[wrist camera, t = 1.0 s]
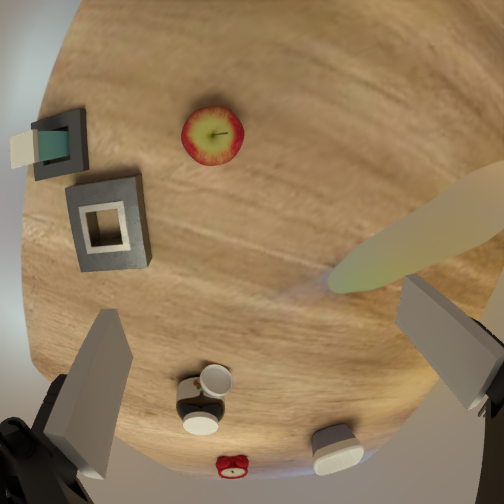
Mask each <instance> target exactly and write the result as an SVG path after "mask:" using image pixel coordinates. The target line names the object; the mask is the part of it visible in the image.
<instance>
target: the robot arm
mask: <svg viewBox="0 0 504 504" xmlns="http://www.w3.org/2000/svg"><path fill="white" fill-rule="evenodd" d="M395 324H396V325H397V326H398V327H399V328H400V329H401V331H402V332H403V333H404V334H405V335H406V336H407V338H408V339H409V340H410V341H411V342H412V343H413V345H414V346H415V347H416V348H417V349H418V350H419V352H420V353H421V354H422V355H423V356H424V358H425V359H426V360H427V361H428V362H429V364H430V365H431V366H432V367H433V368H434V370H435V371H436V372H437V373H438V375H439V376H440V377H441V378H442V379H443V381H444V382H445V383H446V385H447V386H448V387H449V388H450V390H451V391H452V392H453V393H454V395H455V396H456V397H457V398H458V400H459V401H460V402H461V404H462V405H463V406H464V408H465V409H466V410H467V411H468V410H470V409H471V408H473V407H475V406H476V405H478V404H479V403H480V401H481V400H482V398H483V397H484V395H485V394H487V396H488V397H489V398H488V399H487V401H486V403H485V404H484V405H483V407H482V409H481V410H480V411H479V413H478V416H479V417H480V416H481V414H482V413H483V411H484V410H486V412H485V414H484V415H483V417H485V439H484V451H483V460H482V468H481V476H480V481H479V487H478V493H477V497H476V502H475V504H504V344H503V343H502V342H501V341H500V340H499V339H498V338H497V337H496V336H495V335H492V333H491V332H490V331H489V330H488V329H487V330H486V327H485V326H483V325H482V324H481V323H480V322H479V321H477V320H475V319H473V318H471V317H469V316H468V315H466V314H465V313H464V312H463V311H462V310H461V309H459V308H458V307H457V306H456V305H455V304H454V303H452V302H451V301H450V300H449V299H447V298H446V297H445V296H444V295H443V294H441V293H440V292H439V291H438V290H436V289H435V288H434V287H433V286H431V285H430V284H429V283H428V282H426V281H425V280H424V279H423V278H421V277H420V276H419V275H417V274H411V275H406V276H404V281H403V287H402V292H401V297H400V302H399V306H398V311H397V315H396V319H395ZM132 360H133V355H132V353H131V350H130V347H129V344H128V342H127V339H126V336H125V333H124V330H123V327H122V324H121V321H120V318H119V315H118V312H117V309H101V310H100V312H99V314H98V316H97V318H96V319H95V321H94V323H93V325H92V327H91V329H90V331H89V333H88V334H87V336H86V338H85V340H84V342H83V344H82V346H81V348H80V350H79V352H78V354H77V356H76V358H75V360H74V362H73V364H72V366H71V369H70V371H69V373H68V375H66V374H60V375H59V376H58V377H57V378H56V379H55V380H54V381H53V382H52V383H51V385H50V387H49V390H48V392H47V395H46V396H45V398H44V400H43V402H44V403H43V404H42V405H41V407H40V409H39V411H38V414H37V416H36V418H35V421H34V423H33V426H32V428H31V429H30V428H29V427H28V426H27V425H26V423H25V422H24V421H23V420H21V419H20V418H17V417H11V418H7V419H6V420H4V421H3V422H1V424H0V445H1V446H0V504H94V503H93V501H92V500H91V498H90V497H89V495H88V493H87V492H86V490H85V489H84V487H83V485H82V484H81V482H80V481H79V479H78V478H77V477H76V475H77V471H78V470H79V471H80V472H82V473H83V474H84V475H85V476H86V477H91V478H97V479H103V480H105V477H106V471H107V465H108V460H109V455H110V449H111V445H112V440H113V435H114V431H115V426H116V422H117V418H118V413H119V409H120V405H121V401H122V397H123V393H124V389H125V385H126V381H127V378H128V374H129V370H130V367H131V363H132ZM6 493H7V495H6Z"/></svg>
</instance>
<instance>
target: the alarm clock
mask: <svg viewBox="0 0 504 504" xmlns="http://www.w3.org/2000/svg"><path fill="white" fill-rule="evenodd" d="M231 457H236V458H229V457H225V456H223V457H220V458H218V460H217V463H216V468H217V469H218V474H219V476H221V478H227V479H236V478H241V477H244V476H245V475H247V473H248V470H247V467H248V463H249V461H248V459H247V458H246V457H245V456H231Z"/></svg>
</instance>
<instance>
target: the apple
mask: <svg viewBox="0 0 504 504" xmlns="http://www.w3.org/2000/svg"><path fill="white" fill-rule="evenodd" d="M181 140H182V144H183V146H184V148H185V150H186V151H187V152H188V154H189V155H190V156H191V157H192V158H193V159H194V160H195V161H197V162H198V163H200V164H202V165H207V166H215V165H221V164H224V163H227V162H229V161H230V160H232V159H233V158H234V157H235V156H236V154H237V153H238V151H239V150H240V148H241V146H242V143H243V140H244V129H243V126H242V124H241V122H240V121H239V119H238V118H237V117H236V116H235V114H234V113H232V112H231V111H230V110H228V109H226V108H224V107H206V108H202V109H199V110H197V111H195V112H194V113H192V114H191V115H190V117H189V118H188V119H187V121H186V122H185V124H184V127H183V130H182V134H181Z"/></svg>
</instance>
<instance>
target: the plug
mask: <svg viewBox="0 0 504 504" xmlns="http://www.w3.org/2000/svg"><path fill="white" fill-rule="evenodd" d="M10 155H11V167H12V169H15V168H18V167H22V166H25V165H29V164H33V163H36V162H40V161H46V160H51V159H56V158H60V157H64V156H69V155H70V146H69V131H37V129H33V130H30V131H27V132H24V133H21V134H18V135H15V136H13V137H10Z"/></svg>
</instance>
